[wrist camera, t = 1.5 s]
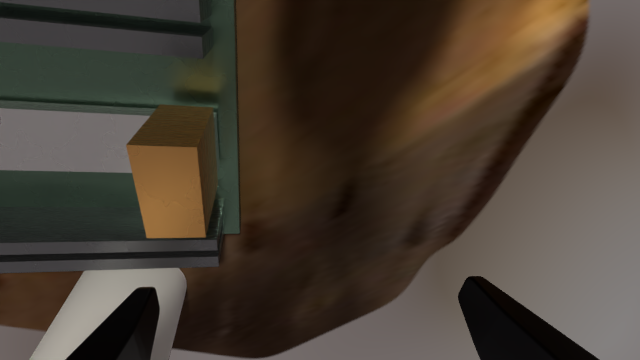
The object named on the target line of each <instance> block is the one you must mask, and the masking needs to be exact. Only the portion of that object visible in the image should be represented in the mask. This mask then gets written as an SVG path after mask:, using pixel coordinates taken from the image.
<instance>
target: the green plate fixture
mask: <svg viewBox="0 0 640 360" xmlns="http://www.w3.org/2000/svg"><path fill="white" fill-rule="evenodd" d="M0 100H4V101H22V102H41V103H59V104H77V105H95V106H113V107H131V108H149V109H157V107H158V106H159V105H160V104H161V105H178V106H195V107H213V112H216V114H217V131H218V147H219V164H220V166H219V170H218V174H217V176H218V186H217V190H216V195H215V199H214V203H213V208H212V212H211V217H210V221H209V225H208V230H207V234H206V237H197V238H147V236H146V232H145V228H144V223H143V219H142V214H141V210H140V205H139V201H138V196H137V192H136V188H135V183H134V179H133V174H132V173H116V172H68V171H19V170H0V273H22V272H55V271H88V270H121V269H154V268H187V267H219V262H220V256H221V249H222V243H223V237H224V234H240V225H241V211H240V166H239V120H238V74H237V29H236V0H0Z"/></svg>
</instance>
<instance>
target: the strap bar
mask: <svg viewBox="0 0 640 360" xmlns="http://www.w3.org/2000/svg"><path fill="white" fill-rule="evenodd" d="M219 166H220V164H219V147H218V131H217V114H216V112H213V107H195V106H178V105H161V104H160V105H159V106H158V107H157V109H149V108H131V107H113V106H95V105H77V104H59V103H41V102H22V101H4V100H0V170H19V171H68V172H116V173H132V174H133V179H134V183H135V188H136V192H137V196H138V201H139V205H140V210H141V214H142V219H143V223H144V228H145V232H146V236H147V238H197V237H206V234H207V230H208V225H209V221H210V217H211V212H212V208H213V203H214V199H215V195H216V190H217V186H218V176H217V174H218V170H219Z"/></svg>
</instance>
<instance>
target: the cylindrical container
mask: <svg viewBox="0 0 640 360" xmlns="http://www.w3.org/2000/svg"><path fill="white" fill-rule="evenodd" d="M138 287H155V289H156V291H157V296H158V301H159V306H160V314H159V320H158V324H157V329H156V334H155V339H154V344H153V348H152V353H151V358H150V360H169V357H170V352H171V349H172V345H173V341H174V337H175V333H176V329H177V325H178V321H179V317H180V313H181V309H182V305H183V301H184V297H185V293H186V289H187V283H186V279H185V276H184V274H183V273H182V271H181V270H180V269H179V268H154V269H121V270H88V271H84V272H83V274H82V276H81V277H80V279H79V280H78V282H77V284H76V285H75V287H74V288H73V290H72V292H71V293H70V295H69V296H68V298H67V300H66V301H65V303H64V304H63V306H62V308H61V309H60V311H59V313H58V314H57V316H56V317H55V319H54V321H53V322H52V324H51V325H50V327H49V329H48V330H47V332H46V333H45V335H44V337H43V338H42V340H41V342H40V343H39V345H38V347H37V348H36V350H35V351H34V353H33V354H32V356H31V358H30V359H29V360H65V359H66V358H67V357H68V356H69V355H70V354H71V353H72V352H73V351H74V350H75V349H76V348H77V347H78V346H79V345H80V344H81V343H82V342H83V341H84V340H85V339H86V338H87V337H88V336H89V335H90V334H91V333H92V332H93V331H94V330H95V329H96V328H97V327H98V326H99V325H100V324H101V323H102V322H103V321H104V320H105V319H106V318H107V317H108V316H109V315H110V314H111V313H112V312H113V311H114V310H115V309H116V308H117V307H118V306H119V305H120V304H121V303H122V302H123V301H124V300H125V299H126V298H127V297H128V296H129V295H130V294H131V293H132V292H133V291H134V290H135V289H136V288H138Z"/></svg>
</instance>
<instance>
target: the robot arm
mask: <svg viewBox="0 0 640 360" xmlns="http://www.w3.org/2000/svg"><path fill="white" fill-rule="evenodd" d="M458 300H459V303H460V306H461V309H462V312H463V314H464V317H465V320H466V323H467V326H468V329H469V331H470V334H471V337H472V340H473V343H474V345H475V347H476V350H477V352H478V355H479V357H480V359H481V360H599V359H598V358H596V357H595V356H594V355H592V354H591V353H589V352H588V351H586V350H585V349H584V348H582V347H581V346H579V345H578V344H576V343H575V342H574V341H572V340H571V339H569V338H568V337H566V336H565V335H564V334H562V333H561V332H560V331H558V330H557V329H555V328H554V327H553V326H551V325H550V324H548V323H547V322H546V321H544V320H543V319H541V318H540V317H538V316H537V315H536V314H534V313H533V312H531V311H530V310H529V309H527V308H526V307H524V306H523V305H521V304H520V303H518V302H517V301H516V300H514V299H513V298H512V297H510V296H509V295H507V294H506V293H505V292H503V291H502V290H500V289H499V288H497V287H496V286H495V285H493V284H492V283H490V282H489V281H488V280H486V279H484V278H483V277H481V276H470V277H468V278H467V279H466V280H465V282H464V284H463V286H462V288H461V290H460V292H459V295H458ZM159 314H160V306H159V301H158V296H157V291H156V289H155V287H138V288H136V289H135V290H134V291H133V292H132V293H131V294H130V295H129V296H128V297H127V298H126V299H125V300H124V301H123V302H122V303H121V304H120V305H119V306H118V307H117V308H116V309H115V310H114V311H113V312H112V313H111V314H110V315H109V316H108V317H107V318H106V319H105V320H104V321H103V322H102V323H101V324H100V325H99V326H98V327H97V328H96V329H95V330H94V331H93V332H92V333H91V334H90V335H89V336H88V337H87V338H86V339H85V340H84V341H83V342H82V343H81V344H80V345H79V346H78V347H77V348H76V349H75V350H74V351H73V352H72V353H71V354H70V355H69V356H68V357H67V358H66V359H65V360H150V358H151V353H152V348H153V344H154V339H155V334H156V329H157V324H158V320H159Z"/></svg>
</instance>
